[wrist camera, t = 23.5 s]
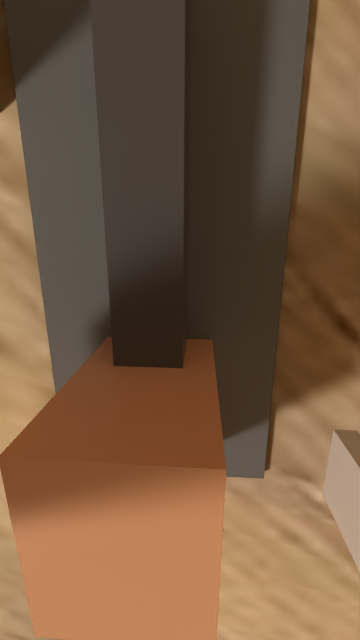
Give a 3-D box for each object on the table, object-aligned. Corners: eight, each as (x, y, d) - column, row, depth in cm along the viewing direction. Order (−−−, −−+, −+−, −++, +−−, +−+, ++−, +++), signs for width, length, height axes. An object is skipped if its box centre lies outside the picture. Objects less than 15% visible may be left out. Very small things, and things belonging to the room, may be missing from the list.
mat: (5, -30, 11) (-2, -40, 10) (311, -49, 10) (315, -61, 10) (68, 462, 17) (65, 467, 17) (262, 472, 16) (263, 478, 16)
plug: (84, -6, 11) (-228, -650, 3) (224, -13, 10) (296, -758, 3) (115, 441, 16) (34, 636, 8) (208, 446, 15) (215, 653, 8)
